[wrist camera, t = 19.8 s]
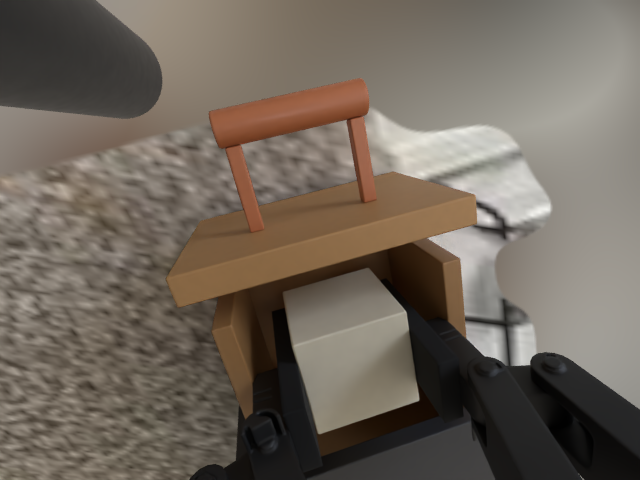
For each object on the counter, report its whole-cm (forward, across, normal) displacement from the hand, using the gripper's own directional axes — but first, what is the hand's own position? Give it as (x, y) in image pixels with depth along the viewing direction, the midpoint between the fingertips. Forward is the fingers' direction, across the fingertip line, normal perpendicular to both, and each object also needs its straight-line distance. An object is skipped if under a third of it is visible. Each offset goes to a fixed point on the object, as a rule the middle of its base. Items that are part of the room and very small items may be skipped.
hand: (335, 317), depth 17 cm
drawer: (+4, 0, +2) cm, 4 cm away
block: (0, 0, 0) cm, 0 cm away
